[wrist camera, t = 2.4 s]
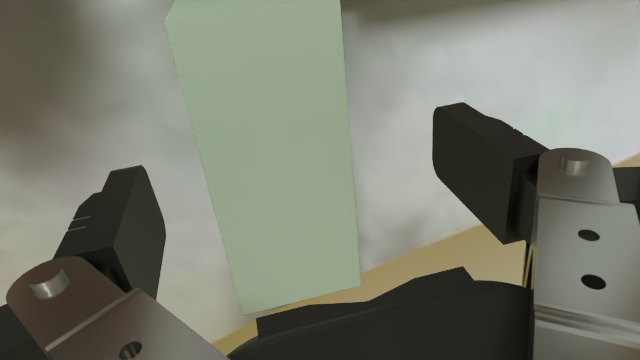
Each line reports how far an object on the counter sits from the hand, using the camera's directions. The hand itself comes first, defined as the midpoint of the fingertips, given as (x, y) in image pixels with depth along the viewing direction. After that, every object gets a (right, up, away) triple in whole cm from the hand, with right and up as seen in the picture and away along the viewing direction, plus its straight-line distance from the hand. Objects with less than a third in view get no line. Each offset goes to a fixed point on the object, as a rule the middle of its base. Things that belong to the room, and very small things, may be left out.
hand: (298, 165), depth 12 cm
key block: (-3, +4, +8) cm, 9 cm away
